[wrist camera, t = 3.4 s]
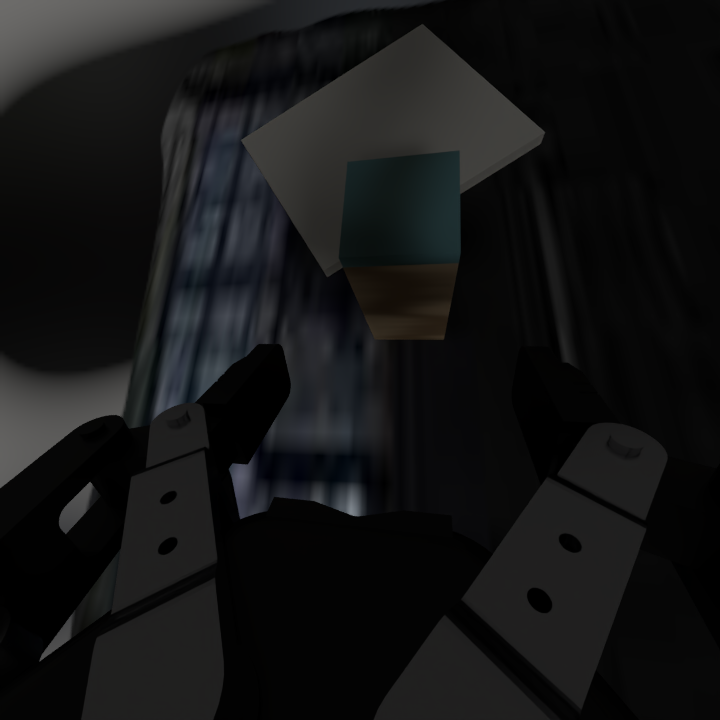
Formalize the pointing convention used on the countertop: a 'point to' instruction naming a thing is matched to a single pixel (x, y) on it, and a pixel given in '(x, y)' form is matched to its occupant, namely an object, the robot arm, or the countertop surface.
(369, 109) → the cream board
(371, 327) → the brown tall block
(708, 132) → the countertop surface
